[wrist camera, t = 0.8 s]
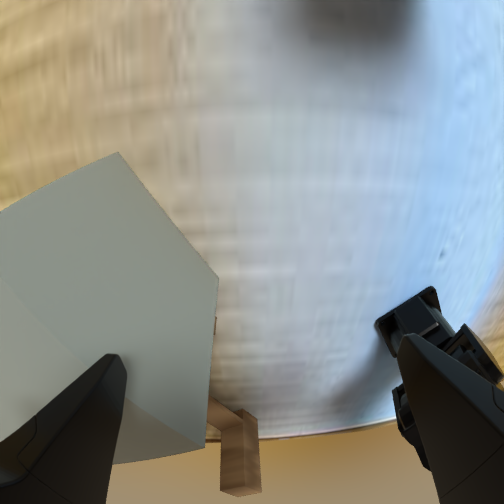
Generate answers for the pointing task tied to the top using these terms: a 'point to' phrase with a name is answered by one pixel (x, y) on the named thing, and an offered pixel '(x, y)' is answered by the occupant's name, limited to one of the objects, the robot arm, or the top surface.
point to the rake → (236, 448)
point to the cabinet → (106, 307)
